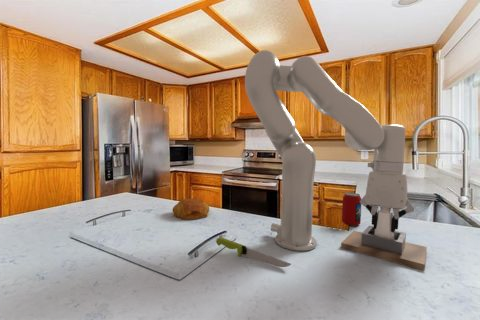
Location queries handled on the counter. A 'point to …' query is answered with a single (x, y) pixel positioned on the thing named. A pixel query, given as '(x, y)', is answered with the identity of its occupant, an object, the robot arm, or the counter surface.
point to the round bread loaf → (191, 209)
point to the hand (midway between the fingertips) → (384, 228)
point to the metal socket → (384, 241)
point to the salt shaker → (384, 223)
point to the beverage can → (351, 209)
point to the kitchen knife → (251, 253)
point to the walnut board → (410, 255)
